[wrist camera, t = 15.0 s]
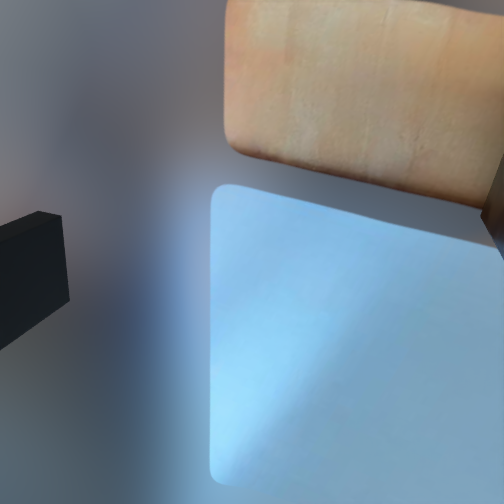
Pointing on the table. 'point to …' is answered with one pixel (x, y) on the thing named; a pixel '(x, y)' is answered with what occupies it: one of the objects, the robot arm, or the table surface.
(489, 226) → the riser
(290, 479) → the table surface
